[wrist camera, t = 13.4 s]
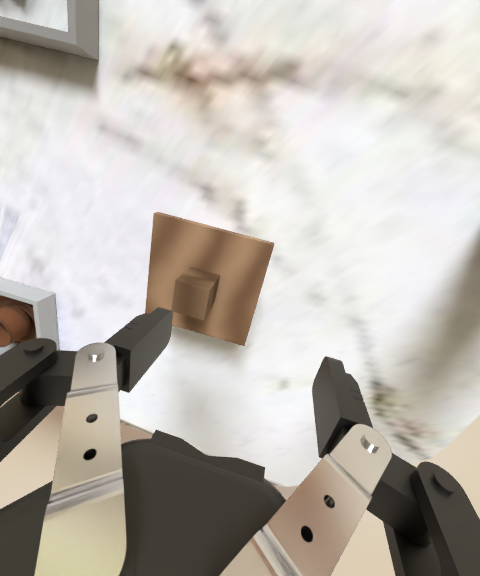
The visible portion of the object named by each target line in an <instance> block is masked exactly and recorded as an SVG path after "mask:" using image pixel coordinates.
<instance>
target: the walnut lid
mask: <svg viewBox="0 0 480 576" xmlns="http://www.w3.org/2000/svg"><path fill="white" fill-rule="evenodd" d="M273 247H274V243H272V242H269V241H265V240H261V239H257V238H254V237H250V236H246V235H242V234H239V233H235V232H231V231H227V230H224V229H220V228H216V227H212V226H209V225H205V224H201V223H197V222H194V221H190V220H186V219H182V218H179V217H175V216H171V215H167V214H164V213H160V212H156V213H154V217H153V229H152V241H151V252H150V264H149V276H148V287H147V299H146V311H145V313H148V314H150V313H152V312H153V311H154V310H155V309H156V308H157V307H161V308H164V309H168V310H171V311H173V320H172V325H174V326H177V327H180V328H184V329H187V330H191V331H194V332H198V333H201V334H205V335H208V336H212V337H215V338H218V339H222V340H225V341H229V342H232V343H236V344H239V345H243V346H244V345H245V342H246V338H247V335H248V332H249V328H250V325H251V321H252V318H253V315H254V311H255V308H256V304H257V301H258V298H259V294H260V291H261V288H262V284H263V281H264V277H265V274H266V271H267V267H268V264H269V260H270V257H271V254H272V250H273Z"/></svg>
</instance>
